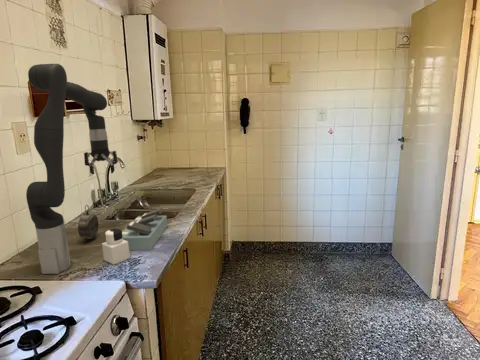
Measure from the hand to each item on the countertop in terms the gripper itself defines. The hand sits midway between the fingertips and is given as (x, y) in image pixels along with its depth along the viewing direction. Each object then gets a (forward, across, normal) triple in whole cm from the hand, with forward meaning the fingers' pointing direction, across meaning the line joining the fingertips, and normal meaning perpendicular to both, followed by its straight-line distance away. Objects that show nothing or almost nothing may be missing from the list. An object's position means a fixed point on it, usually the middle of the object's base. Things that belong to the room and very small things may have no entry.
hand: (102, 173), depth 162 cm
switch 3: (+20, +17, -25) cm, 36 cm away
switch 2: (+20, +20, -17) cm, 32 cm away
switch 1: (+19, +22, -8) cm, 30 cm away
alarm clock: (+28, -6, -12) cm, 31 cm away
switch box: (+28, +18, -16) cm, 37 cm away
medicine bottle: (+28, +9, -36) cm, 47 cm away
